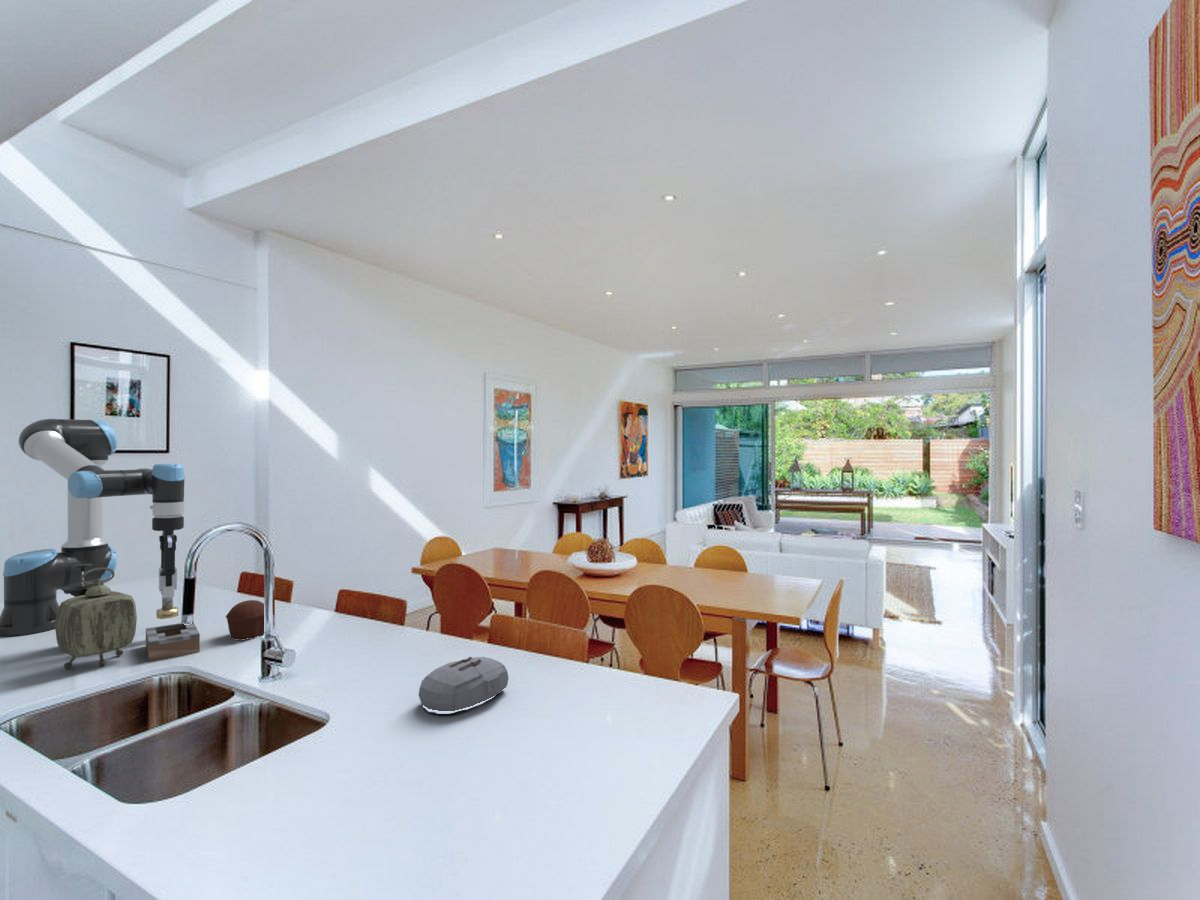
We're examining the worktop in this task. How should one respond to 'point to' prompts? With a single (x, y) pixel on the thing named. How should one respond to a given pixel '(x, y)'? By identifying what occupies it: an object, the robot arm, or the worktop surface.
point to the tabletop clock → (95, 621)
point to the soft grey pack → (463, 684)
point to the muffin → (246, 620)
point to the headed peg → (167, 600)
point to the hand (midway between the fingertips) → (167, 595)
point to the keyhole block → (172, 641)
